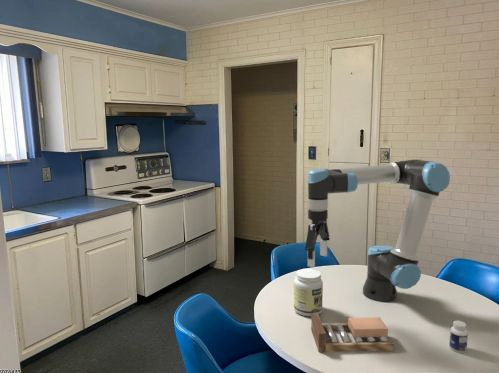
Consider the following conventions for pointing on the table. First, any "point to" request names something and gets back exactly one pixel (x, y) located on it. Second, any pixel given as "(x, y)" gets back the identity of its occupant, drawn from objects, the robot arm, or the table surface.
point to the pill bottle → (458, 337)
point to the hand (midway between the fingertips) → (317, 260)
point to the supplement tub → (308, 292)
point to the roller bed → (345, 337)
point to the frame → (322, 346)
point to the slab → (367, 327)
